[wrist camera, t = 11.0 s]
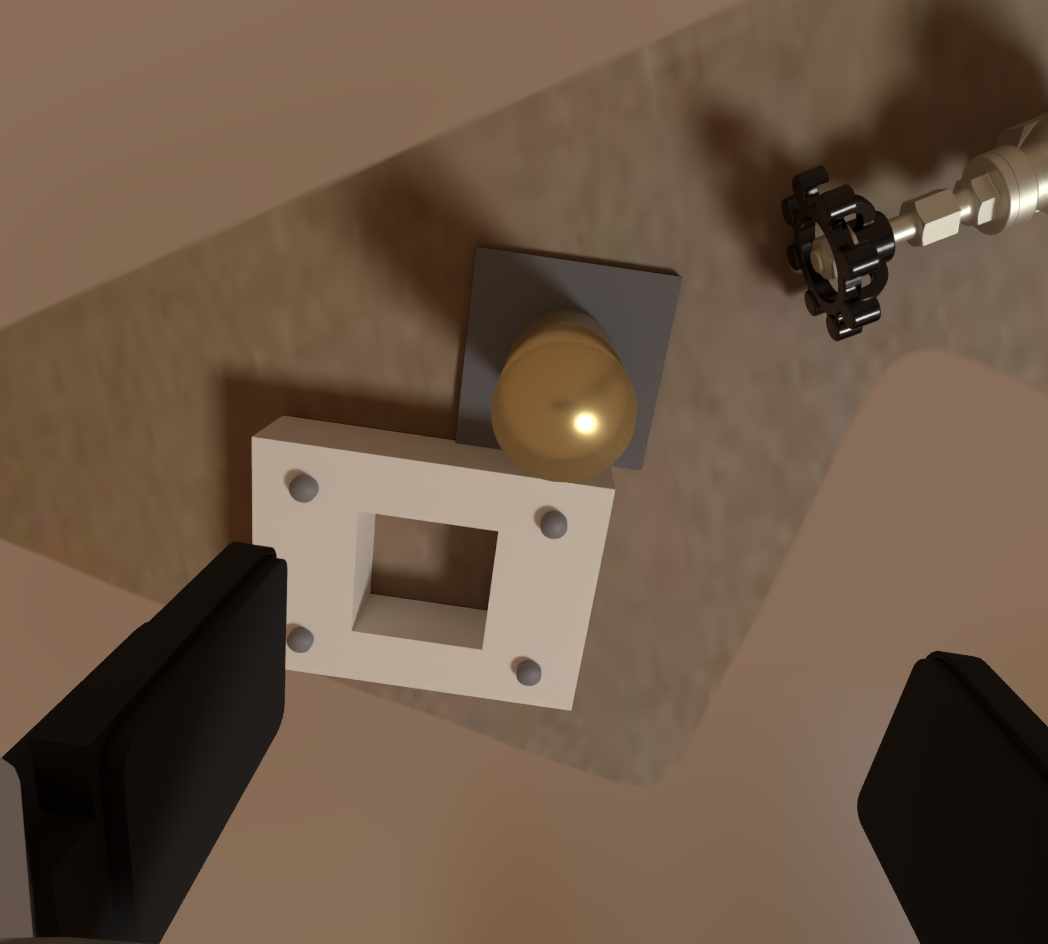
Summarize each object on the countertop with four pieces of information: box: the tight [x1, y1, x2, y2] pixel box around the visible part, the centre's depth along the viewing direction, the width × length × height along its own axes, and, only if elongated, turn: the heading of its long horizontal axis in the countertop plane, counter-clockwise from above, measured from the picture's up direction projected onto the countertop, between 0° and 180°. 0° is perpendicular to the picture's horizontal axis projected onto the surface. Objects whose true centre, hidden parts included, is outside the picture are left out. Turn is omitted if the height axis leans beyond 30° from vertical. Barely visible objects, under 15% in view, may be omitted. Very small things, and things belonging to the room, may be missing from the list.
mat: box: [455, 247, 682, 470], centre depth 31 cm, size 9×9×1 cm
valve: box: [781, 112, 1048, 341], centre depth 25 cm, size 7×7×12 cm
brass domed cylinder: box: [491, 308, 637, 482], centre depth 26 cm, size 5×5×9 cm
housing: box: [252, 415, 615, 711], centre depth 33 cm, size 16×12×4 cm
